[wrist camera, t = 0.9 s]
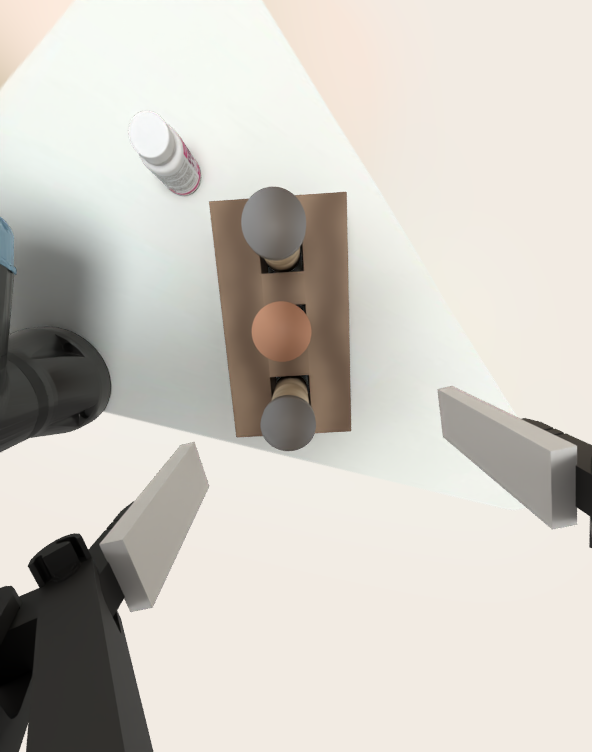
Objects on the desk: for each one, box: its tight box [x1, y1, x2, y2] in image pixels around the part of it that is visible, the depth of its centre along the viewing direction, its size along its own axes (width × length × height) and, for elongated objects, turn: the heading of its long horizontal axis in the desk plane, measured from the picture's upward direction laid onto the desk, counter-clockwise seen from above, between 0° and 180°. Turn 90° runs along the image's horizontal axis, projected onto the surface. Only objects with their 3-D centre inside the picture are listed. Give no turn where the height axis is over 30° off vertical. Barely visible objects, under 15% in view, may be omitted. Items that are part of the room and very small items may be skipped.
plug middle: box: [252, 301, 311, 362], centre depth 29 cm, size 5×5×12 cm
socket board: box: [209, 192, 351, 437], centre depth 36 cm, size 14×26×8 cm, turn 4°
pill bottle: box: [128, 111, 201, 196], centre depth 32 cm, size 5×5×8 cm
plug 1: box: [241, 187, 306, 273], centre depth 27 cm, size 5×5×12 cm
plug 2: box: [260, 375, 316, 451], centre depth 31 cm, size 5×5×12 cm
